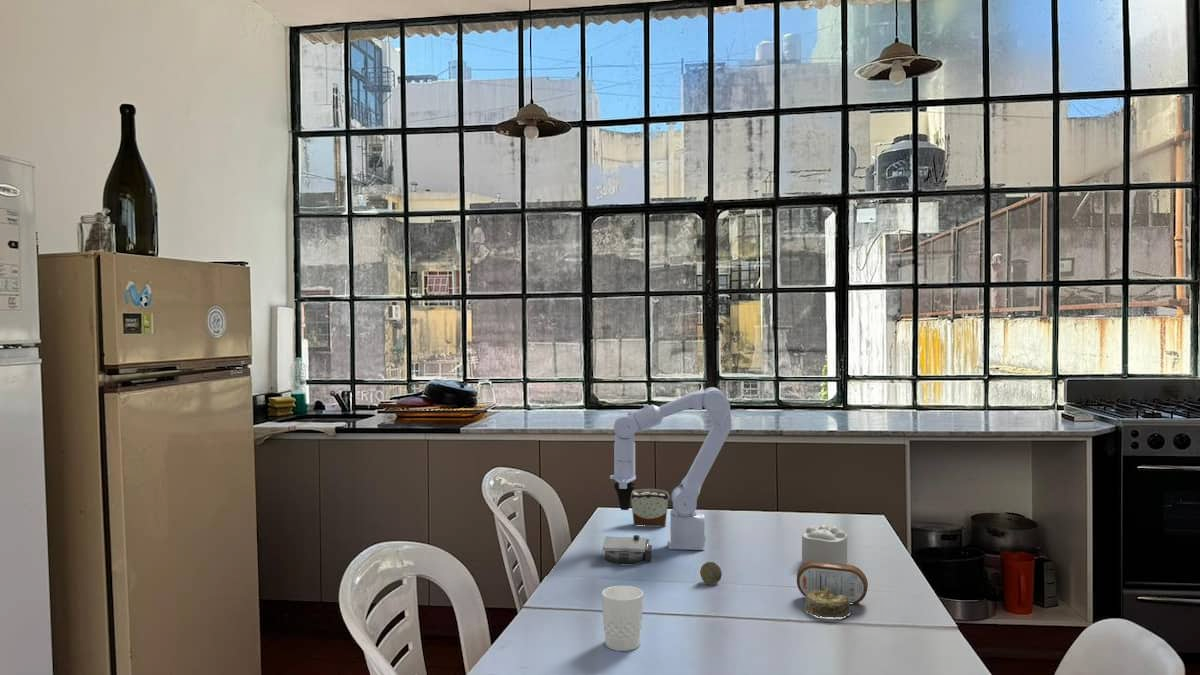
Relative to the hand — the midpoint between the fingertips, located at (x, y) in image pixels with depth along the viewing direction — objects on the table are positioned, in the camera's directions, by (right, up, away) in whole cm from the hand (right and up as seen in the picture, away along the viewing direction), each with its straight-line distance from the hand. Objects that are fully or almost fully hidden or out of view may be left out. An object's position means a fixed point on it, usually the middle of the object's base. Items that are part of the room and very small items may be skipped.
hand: (624, 509), depth 215 cm
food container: (+8, -9, +23) cm, 26 cm away
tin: (+44, -11, -42) cm, 62 cm away
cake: (+42, -12, -47) cm, 64 cm away
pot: (0, -10, -11) cm, 15 cm away
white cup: (-2, -12, -64) cm, 65 cm away
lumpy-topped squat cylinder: (+51, -11, -14) cm, 54 cm away
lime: (+19, -11, -30) cm, 37 cm away
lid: (0, -7, -11) cm, 13 cm away
